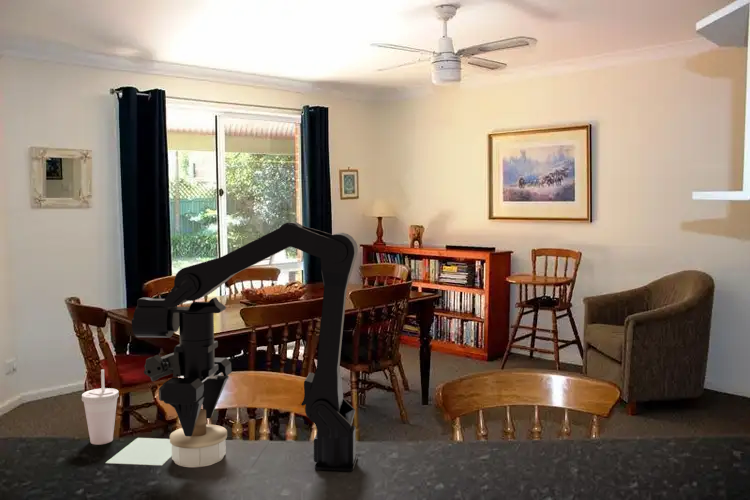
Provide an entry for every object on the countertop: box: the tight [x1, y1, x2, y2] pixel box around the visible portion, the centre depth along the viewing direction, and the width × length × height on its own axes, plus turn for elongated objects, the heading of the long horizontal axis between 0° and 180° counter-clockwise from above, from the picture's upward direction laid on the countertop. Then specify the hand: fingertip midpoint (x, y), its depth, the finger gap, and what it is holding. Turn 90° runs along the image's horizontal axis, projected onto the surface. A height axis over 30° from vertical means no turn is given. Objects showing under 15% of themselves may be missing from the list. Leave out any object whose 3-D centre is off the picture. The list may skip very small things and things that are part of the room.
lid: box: [169, 408, 228, 448], centre depth 113 cm, size 10×10×5 cm
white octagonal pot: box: [171, 439, 227, 468], centre depth 114 cm, size 8×8×4 cm
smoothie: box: [81, 369, 120, 446], centre depth 121 cm, size 6×6×14 cm
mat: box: [105, 437, 172, 467], centre depth 117 cm, size 10×12×1 cm
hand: (198, 426), depth 113 cm, fingers open, 9 cm apart
